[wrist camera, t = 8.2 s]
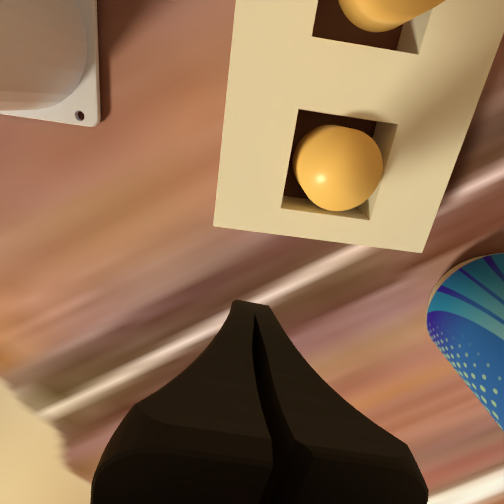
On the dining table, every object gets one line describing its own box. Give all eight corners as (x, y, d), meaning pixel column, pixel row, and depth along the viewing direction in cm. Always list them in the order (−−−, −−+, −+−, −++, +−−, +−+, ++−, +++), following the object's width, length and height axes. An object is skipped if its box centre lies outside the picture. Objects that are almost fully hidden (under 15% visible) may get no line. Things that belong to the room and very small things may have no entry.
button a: (286, 190, 20) (293, 205, 17) (300, 119, 19) (310, 122, 16) (351, 199, 20) (370, 215, 17) (369, 130, 19) (393, 134, 16)
